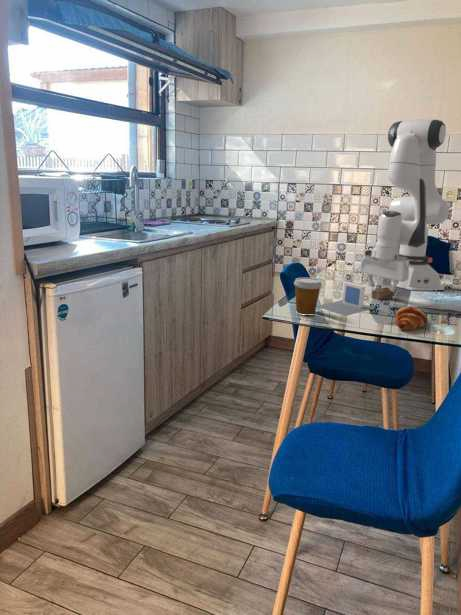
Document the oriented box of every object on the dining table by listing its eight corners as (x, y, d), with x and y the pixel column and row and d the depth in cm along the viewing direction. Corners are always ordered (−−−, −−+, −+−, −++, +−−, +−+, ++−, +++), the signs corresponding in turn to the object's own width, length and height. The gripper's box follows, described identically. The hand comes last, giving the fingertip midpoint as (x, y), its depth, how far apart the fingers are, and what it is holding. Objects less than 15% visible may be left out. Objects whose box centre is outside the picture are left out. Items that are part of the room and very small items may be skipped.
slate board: (344, 301, 196) (345, 299, 196) (375, 310, 186) (376, 308, 186) (314, 308, 185) (314, 306, 185) (345, 317, 175) (345, 315, 175)
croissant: (407, 325, 181) (399, 304, 181) (435, 317, 176) (427, 296, 176) (392, 340, 164) (383, 317, 164) (423, 331, 158) (414, 307, 158)
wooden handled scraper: (396, 299, 203) (397, 289, 202) (370, 305, 192) (372, 295, 191) (381, 295, 208) (382, 286, 207) (355, 301, 197) (356, 291, 196)
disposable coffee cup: (322, 317, 174) (326, 283, 171) (296, 317, 173) (298, 283, 169) (313, 309, 183) (316, 277, 180) (288, 309, 182) (290, 277, 179)
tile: (345, 302, 192) (347, 282, 189) (362, 307, 186) (365, 286, 184) (342, 303, 190) (344, 282, 188) (359, 308, 185) (362, 286, 182)
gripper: (414, 257, 192) (409, 293, 195) (369, 249, 207) (365, 282, 211) (405, 258, 188) (399, 294, 192) (359, 250, 203) (355, 284, 207)
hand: (381, 288), depth 201 cm, fingers open, 8 cm apart
